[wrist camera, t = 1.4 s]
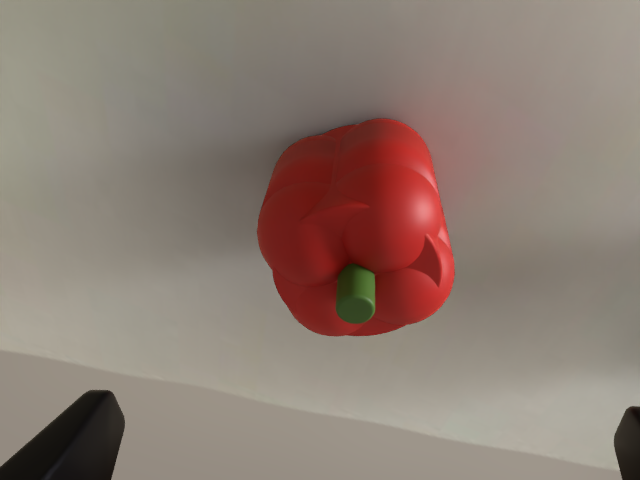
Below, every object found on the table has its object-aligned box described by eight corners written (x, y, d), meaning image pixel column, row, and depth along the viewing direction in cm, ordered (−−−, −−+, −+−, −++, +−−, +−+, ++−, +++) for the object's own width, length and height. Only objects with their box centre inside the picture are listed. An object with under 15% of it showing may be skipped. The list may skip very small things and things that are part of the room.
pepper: (481, 149, 17) (533, 278, 12) (388, 270, 21) (394, 413, 15) (322, 64, 16) (298, 164, 11) (250, 206, 19) (204, 338, 14)
